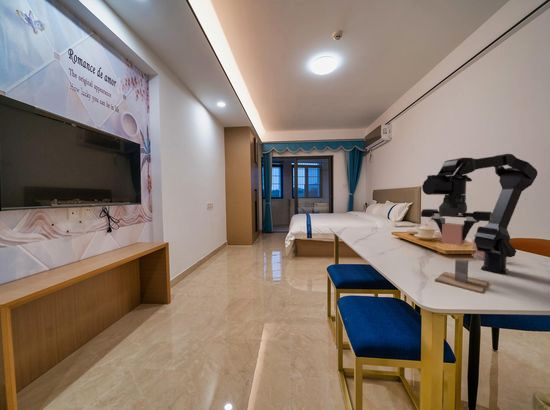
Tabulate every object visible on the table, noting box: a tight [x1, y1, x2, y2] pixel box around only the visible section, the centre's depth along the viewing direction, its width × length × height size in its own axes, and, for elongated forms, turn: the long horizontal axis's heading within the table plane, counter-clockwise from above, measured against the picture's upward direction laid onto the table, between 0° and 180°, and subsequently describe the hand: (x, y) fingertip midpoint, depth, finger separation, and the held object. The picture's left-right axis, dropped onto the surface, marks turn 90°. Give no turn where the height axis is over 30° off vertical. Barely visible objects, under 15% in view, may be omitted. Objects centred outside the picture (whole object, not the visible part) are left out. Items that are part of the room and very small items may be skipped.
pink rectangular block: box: [441, 222, 466, 246], centre depth 75 cm, size 5×5×7 cm
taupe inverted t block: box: [434, 258, 489, 294], centre depth 67 cm, size 11×11×7 cm
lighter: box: [471, 236, 484, 262], centre depth 92 cm, size 8×3×10 cm, turn 168°
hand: (453, 238), depth 76 cm, fingers closed on pink rectangular block, 5 cm apart
